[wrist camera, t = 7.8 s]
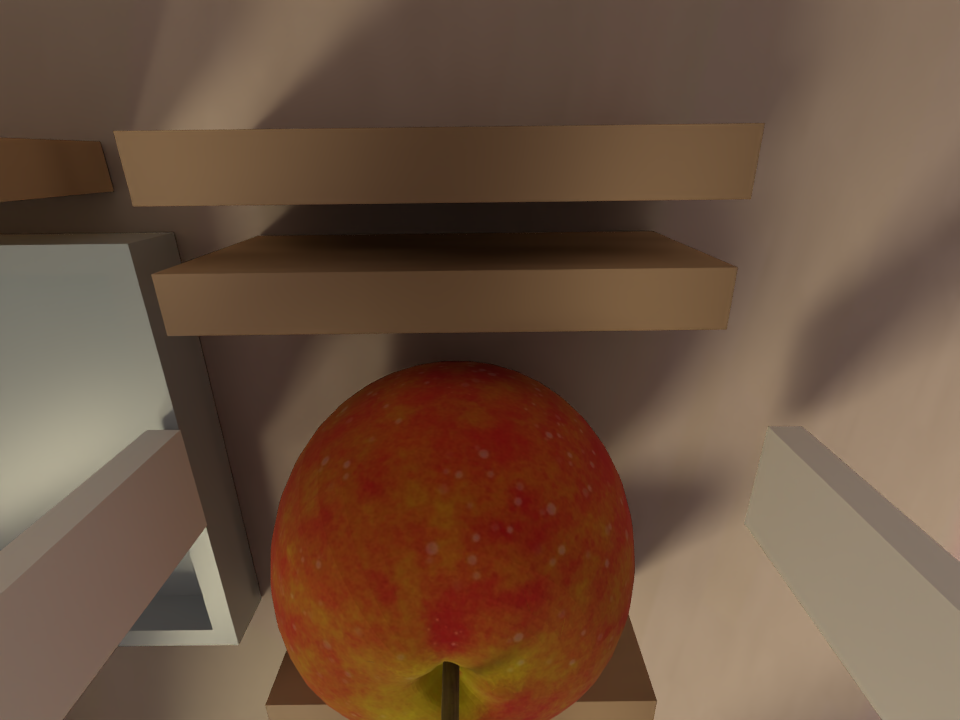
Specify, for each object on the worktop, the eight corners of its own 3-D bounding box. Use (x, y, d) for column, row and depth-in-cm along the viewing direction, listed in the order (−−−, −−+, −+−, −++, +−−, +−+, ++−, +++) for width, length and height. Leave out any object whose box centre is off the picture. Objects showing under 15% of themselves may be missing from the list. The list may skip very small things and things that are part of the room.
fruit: (307, 329, 12) (44, 593, 5) (590, 306, 12) (771, 545, 5) (356, 549, 15) (235, 939, 7) (590, 533, 15) (704, 918, 7)
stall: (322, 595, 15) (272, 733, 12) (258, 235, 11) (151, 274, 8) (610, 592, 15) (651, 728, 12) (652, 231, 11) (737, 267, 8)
